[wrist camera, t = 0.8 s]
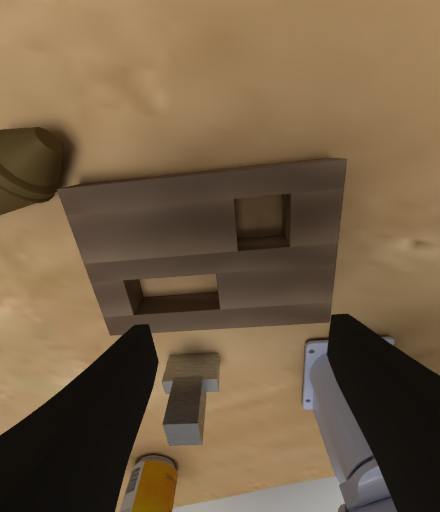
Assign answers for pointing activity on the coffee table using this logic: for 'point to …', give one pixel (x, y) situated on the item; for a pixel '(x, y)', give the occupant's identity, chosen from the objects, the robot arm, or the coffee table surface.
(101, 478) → the robot arm
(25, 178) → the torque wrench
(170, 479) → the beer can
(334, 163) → the stand
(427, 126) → the coffee table surface
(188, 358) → the gray t-shaped block
